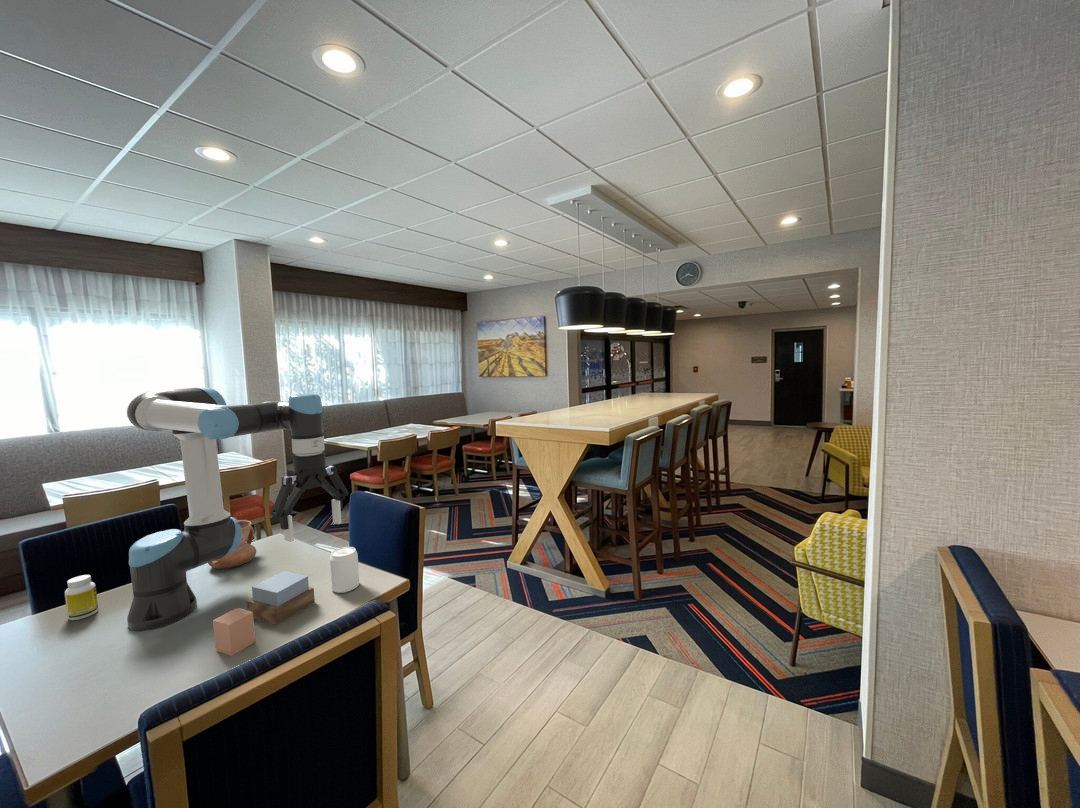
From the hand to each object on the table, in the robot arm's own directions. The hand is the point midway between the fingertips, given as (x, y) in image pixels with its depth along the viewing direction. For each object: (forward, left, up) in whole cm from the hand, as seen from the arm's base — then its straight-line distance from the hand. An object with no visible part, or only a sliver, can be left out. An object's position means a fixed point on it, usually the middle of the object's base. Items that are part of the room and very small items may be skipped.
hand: (314, 531), depth 117 cm
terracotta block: (-14, -14, -27) cm, 33 cm away
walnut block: (-18, +2, -27) cm, 32 cm away
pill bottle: (-71, -20, -27) cm, 78 cm away
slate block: (-17, +2, -22) cm, 28 cm away
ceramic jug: (-63, +18, -27) cm, 71 cm away
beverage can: (-10, +18, -27) cm, 34 cm away
